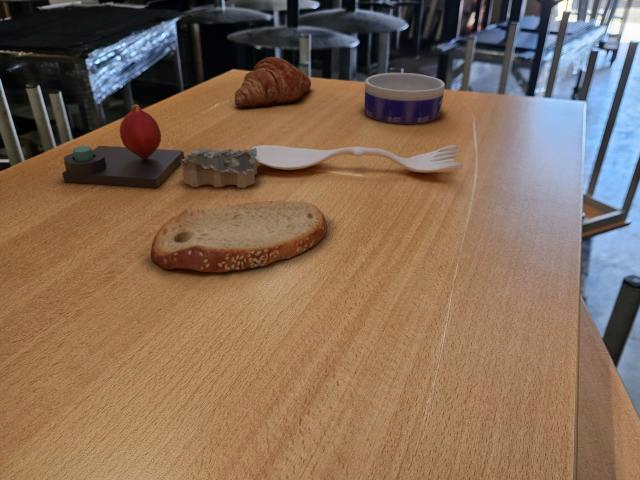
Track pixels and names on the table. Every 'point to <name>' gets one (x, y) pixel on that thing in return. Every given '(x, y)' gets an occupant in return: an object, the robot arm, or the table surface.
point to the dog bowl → (403, 97)
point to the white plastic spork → (308, 157)
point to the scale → (122, 167)
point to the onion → (140, 132)
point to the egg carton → (220, 167)
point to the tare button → (83, 153)
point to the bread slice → (238, 235)
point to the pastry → (272, 84)
